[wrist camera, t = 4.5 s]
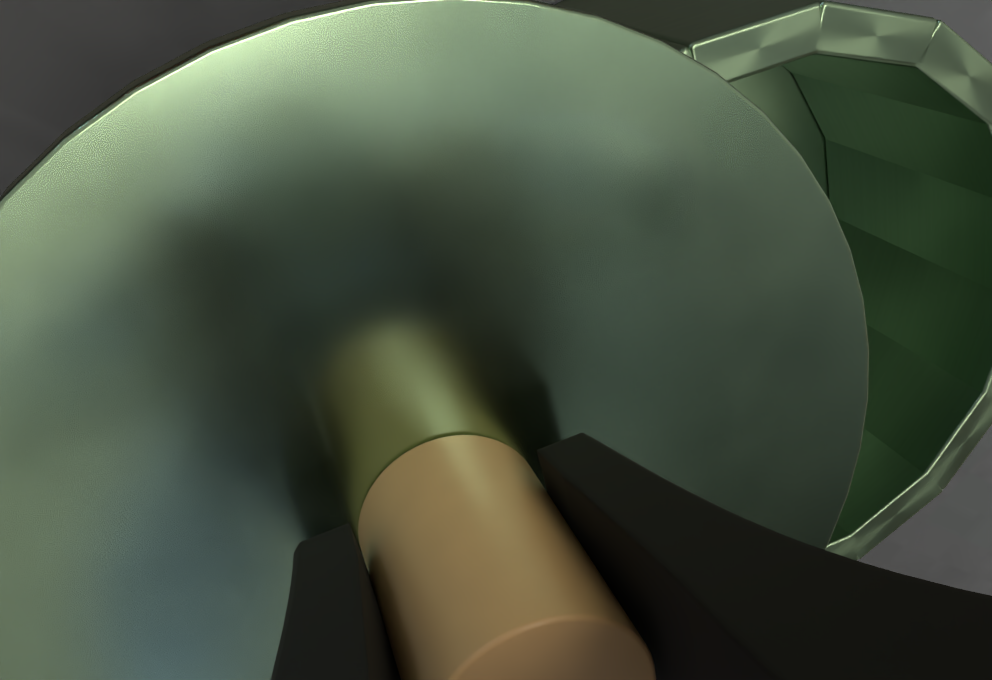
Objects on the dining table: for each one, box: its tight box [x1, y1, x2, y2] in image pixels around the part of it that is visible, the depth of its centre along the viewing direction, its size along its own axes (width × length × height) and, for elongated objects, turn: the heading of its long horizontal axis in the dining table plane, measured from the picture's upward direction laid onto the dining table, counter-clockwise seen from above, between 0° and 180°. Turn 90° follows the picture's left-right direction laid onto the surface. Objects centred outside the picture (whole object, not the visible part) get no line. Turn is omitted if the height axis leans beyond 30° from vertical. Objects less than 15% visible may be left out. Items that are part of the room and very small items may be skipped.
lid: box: [0, 0, 869, 680], centre depth 11 cm, size 13×13×5 cm
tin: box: [555, 0, 992, 561], centre depth 20 cm, size 12×12×6 cm
